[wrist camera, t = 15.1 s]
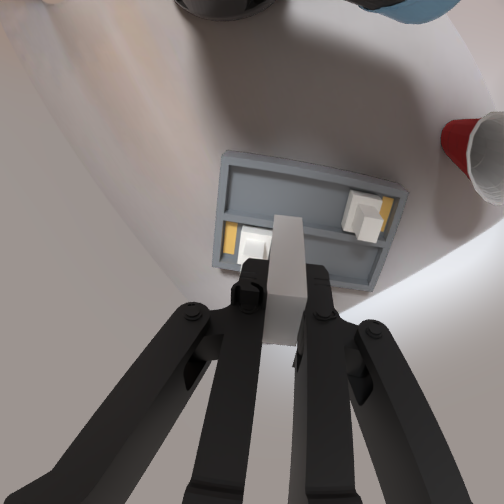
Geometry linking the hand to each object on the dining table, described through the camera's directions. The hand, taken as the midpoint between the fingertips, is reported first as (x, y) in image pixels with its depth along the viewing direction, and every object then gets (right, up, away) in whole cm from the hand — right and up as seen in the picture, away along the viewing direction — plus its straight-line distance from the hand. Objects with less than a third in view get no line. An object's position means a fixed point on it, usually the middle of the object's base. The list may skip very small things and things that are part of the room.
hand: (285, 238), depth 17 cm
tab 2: (+12, +5, +21) cm, 25 cm away
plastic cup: (+27, +15, +17) cm, 35 cm away
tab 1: (-1, 0, +25) cm, 26 cm away
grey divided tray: (+6, +4, +25) cm, 26 cm away
